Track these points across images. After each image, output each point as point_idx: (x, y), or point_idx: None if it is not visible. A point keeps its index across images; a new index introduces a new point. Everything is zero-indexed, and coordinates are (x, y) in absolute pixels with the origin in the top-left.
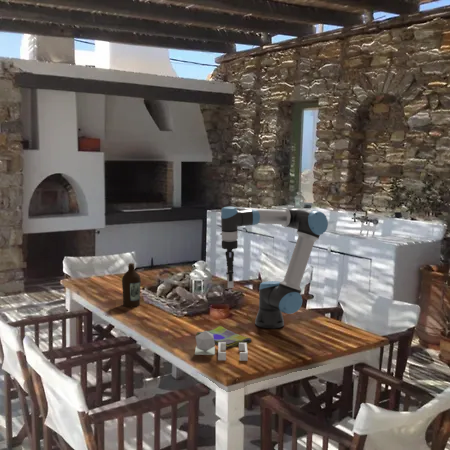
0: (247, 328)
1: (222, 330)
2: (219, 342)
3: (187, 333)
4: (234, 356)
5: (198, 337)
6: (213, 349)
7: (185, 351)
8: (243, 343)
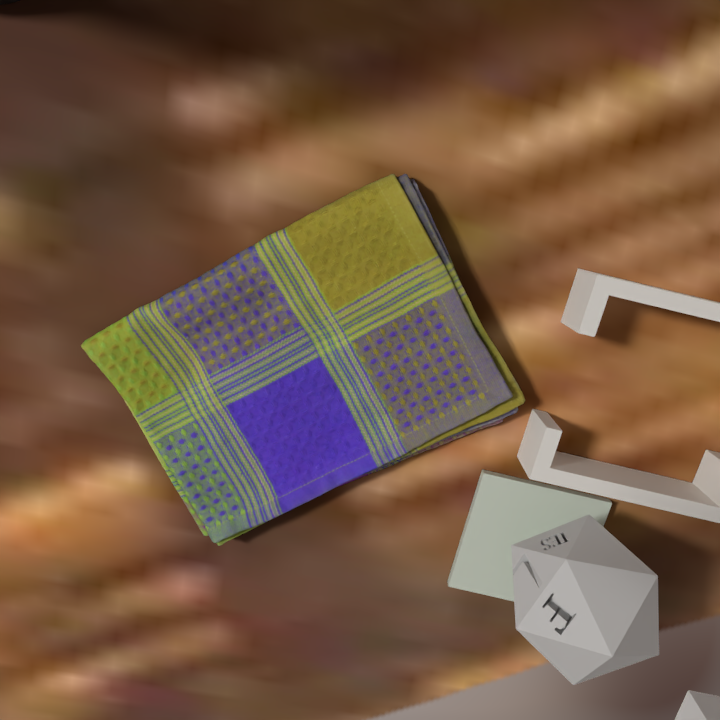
0: (90, 117)
1: (157, 347)
2: (535, 472)
3: (167, 579)
4: (670, 382)
5: (607, 672)
6: (531, 493)
7: (496, 646)
8: (606, 302)
